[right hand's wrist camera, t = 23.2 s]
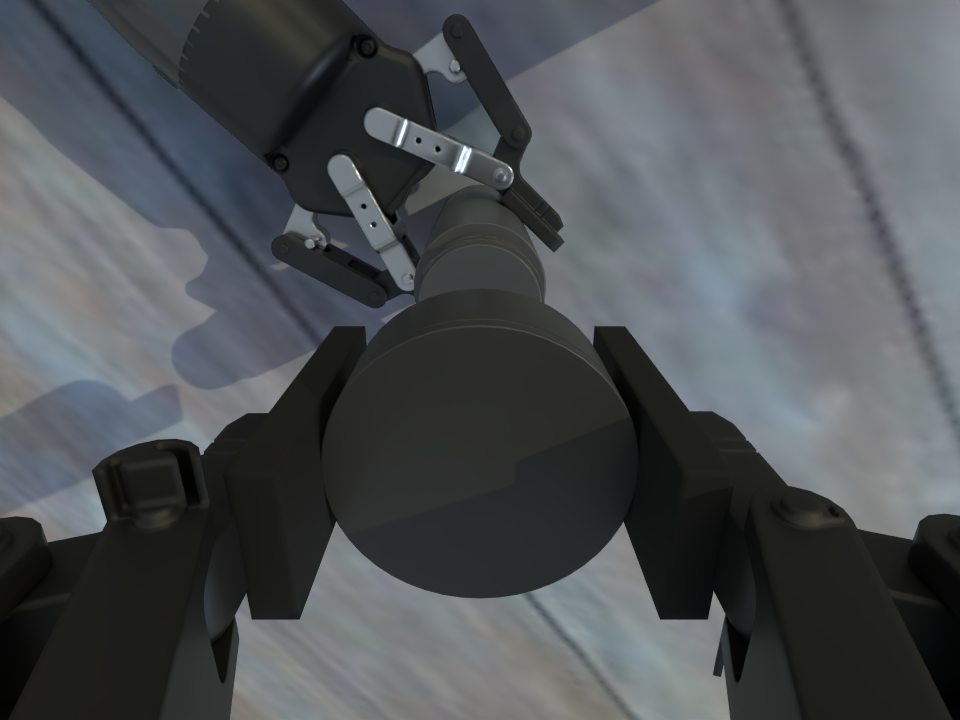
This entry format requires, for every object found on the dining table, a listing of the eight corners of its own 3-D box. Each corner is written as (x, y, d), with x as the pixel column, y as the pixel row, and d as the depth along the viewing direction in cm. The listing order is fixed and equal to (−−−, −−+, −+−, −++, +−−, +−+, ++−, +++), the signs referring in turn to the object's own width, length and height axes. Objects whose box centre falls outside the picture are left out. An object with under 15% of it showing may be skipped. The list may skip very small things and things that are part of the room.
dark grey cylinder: (537, 220, 33) (583, 293, 19) (486, 284, 35) (492, 398, 20) (471, 166, 32) (465, 200, 18) (422, 235, 34) (378, 319, 19)
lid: (650, 326, 12) (691, 371, 9) (563, 543, 14) (580, 623, 11) (376, 256, 11) (349, 286, 9) (329, 493, 13) (299, 566, 11)
